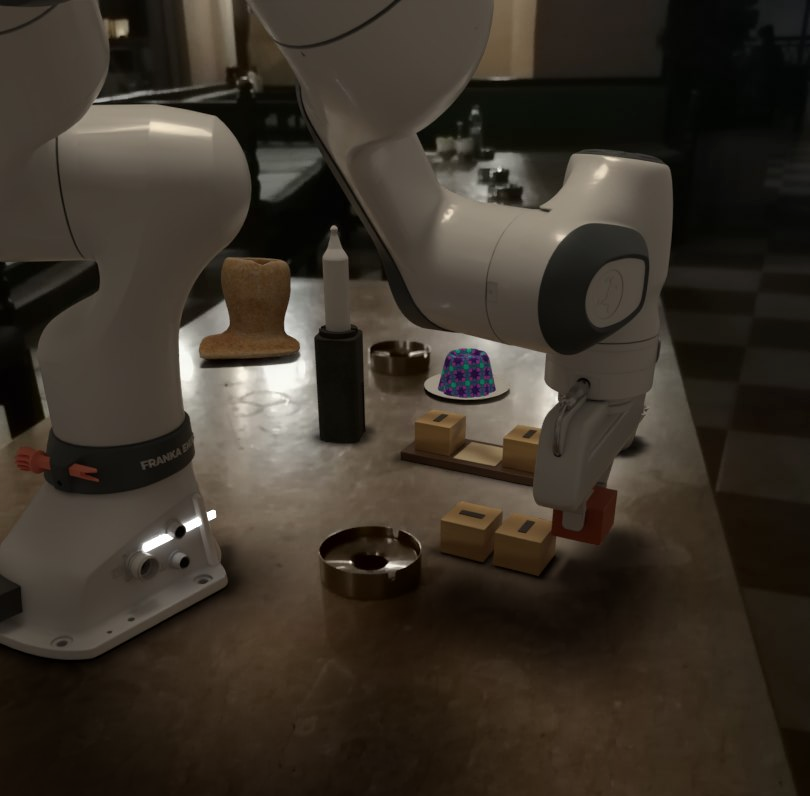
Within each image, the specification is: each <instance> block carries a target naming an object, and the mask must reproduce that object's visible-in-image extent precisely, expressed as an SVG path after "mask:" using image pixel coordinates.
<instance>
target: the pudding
mask: <svg viewBox="0 0 810 796" xmlns="http://www.w3.org/2000/svg"><path fill="white" fill-rule="evenodd" d="M423 387H424V388H425V390H427V392H429V393H431V394H433V395H436V396H438V397H442V398H445V399H453V400H461V401H463V400H464V401H472V400H473V401H475V400H484V399H490V398H494V397H498V396H500V395H502V394H505V393H506V392H507V391H508V390H509V389H510V387H511V384H510V382H509V381H508V380H507V379H506V378H504V377H502V376H500V375H497V374H493V369H492V365H491V360H490V357H489V355H488V353H487V352H486V351H484V350H482V349H478V348H474V347H473V348H472V347H471V348H464V347H463V348H458V349H453V350H451V351H449V352H448V353H447V355H446V356H445V359H444V362H443V367H442V370H441V373H438V374H435V375H432V376H430V377H429V378H427V379H426V380H425V381H424V383H423Z"/></svg>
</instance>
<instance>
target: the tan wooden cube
mask: <svg viewBox="0 0 810 796" xmlns="http://www.w3.org/2000/svg"><path fill="white" fill-rule="evenodd" d="M551 528H552V520H548V519H544V518H539V517H536V516H530V515H526V514H523V513H518V512H512V513H511V514H510V515H509V516H508V517H507V519H506V520H505V521H503V522H502V525H501V526H500V527H499V528H498V529H497V530H496V532H495V539H494V551H493V566H496V567H500V568H503V569H504V568H505V569H509V570H512V571H517V572H520V573H521V572H522V573H525V574H528V575H533V576H537V577H539V576H541V574H542V572H543V571H544V570H545V568H546V567H547V566H548V564H549V563H550V562H551V561H552V559H553V558H554V557H555V555H556V548H557V547H556V546H557V536H552V535H551Z"/></svg>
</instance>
